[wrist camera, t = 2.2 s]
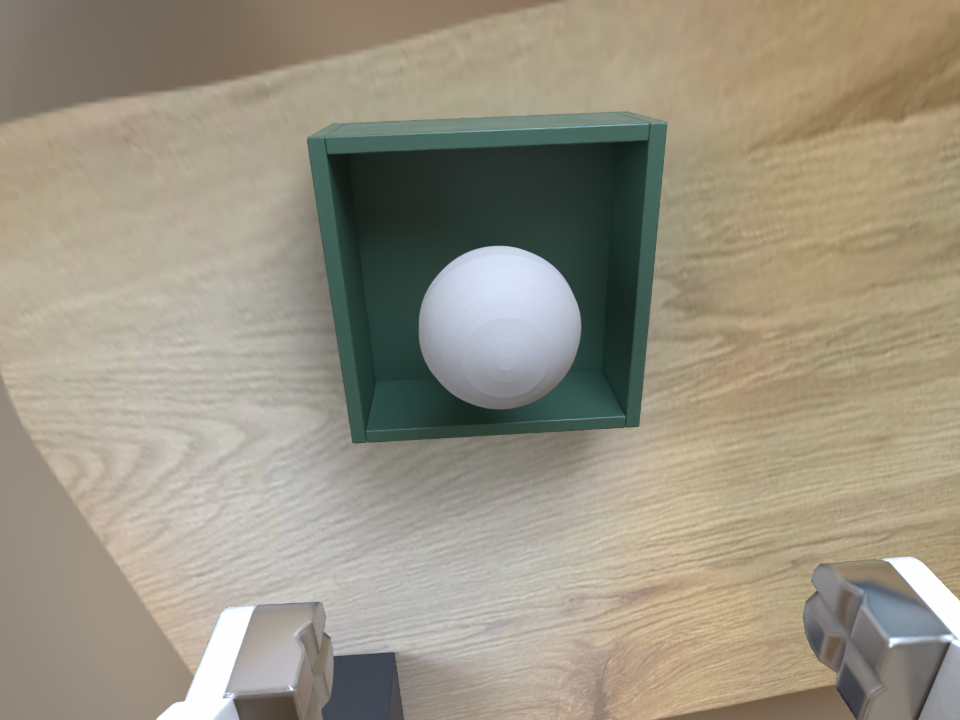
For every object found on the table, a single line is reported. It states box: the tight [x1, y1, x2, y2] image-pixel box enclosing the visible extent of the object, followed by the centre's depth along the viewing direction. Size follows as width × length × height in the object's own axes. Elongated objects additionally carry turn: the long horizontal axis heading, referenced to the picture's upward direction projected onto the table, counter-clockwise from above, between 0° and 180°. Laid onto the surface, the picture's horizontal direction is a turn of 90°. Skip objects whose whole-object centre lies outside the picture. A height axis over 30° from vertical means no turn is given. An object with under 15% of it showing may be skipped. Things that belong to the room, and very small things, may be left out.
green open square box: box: [307, 112, 667, 443], centre depth 26 cm, size 12×12×5 cm
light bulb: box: [419, 246, 581, 409], centre depth 23 cm, size 6×6×10 cm
